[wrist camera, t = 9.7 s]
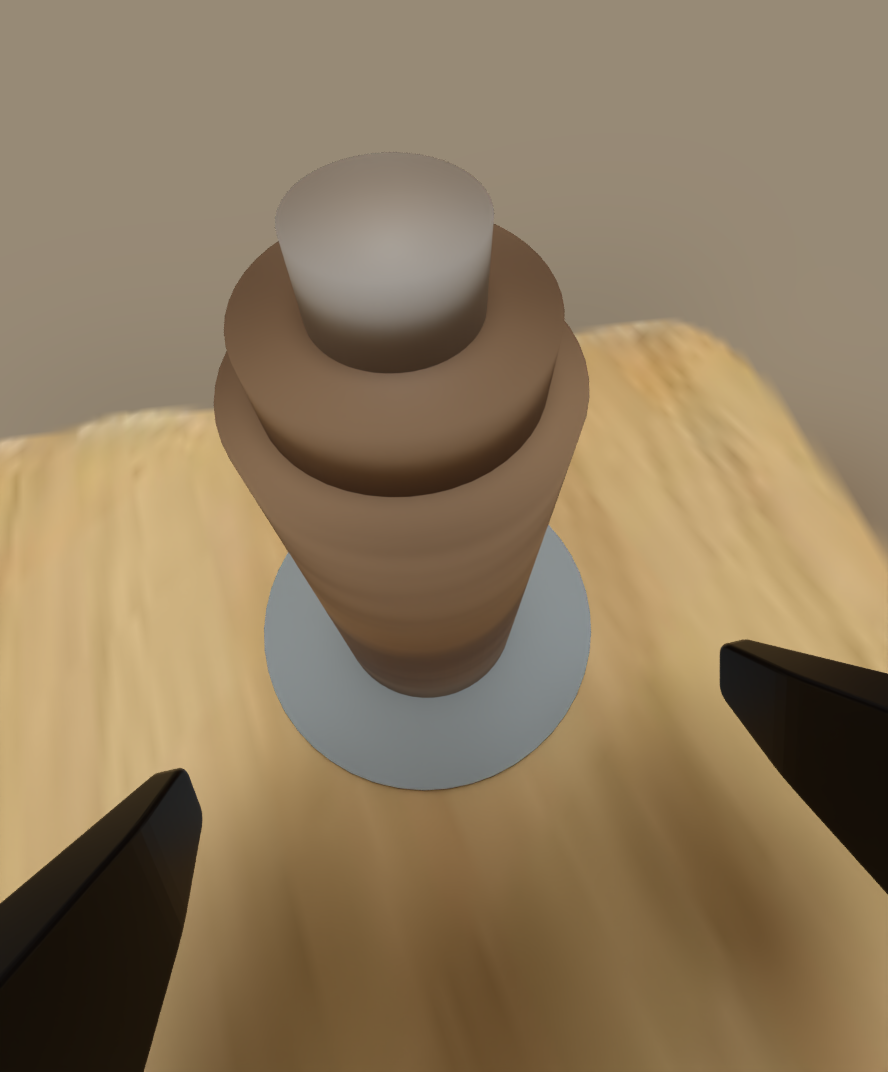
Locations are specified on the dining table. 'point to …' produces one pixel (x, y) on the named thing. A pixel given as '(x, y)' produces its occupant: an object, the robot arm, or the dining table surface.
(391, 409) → the pepper mill
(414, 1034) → the dining table surface
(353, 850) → the dining table surface
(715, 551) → the dining table surface
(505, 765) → the slate mat
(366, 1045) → the dining table surface
